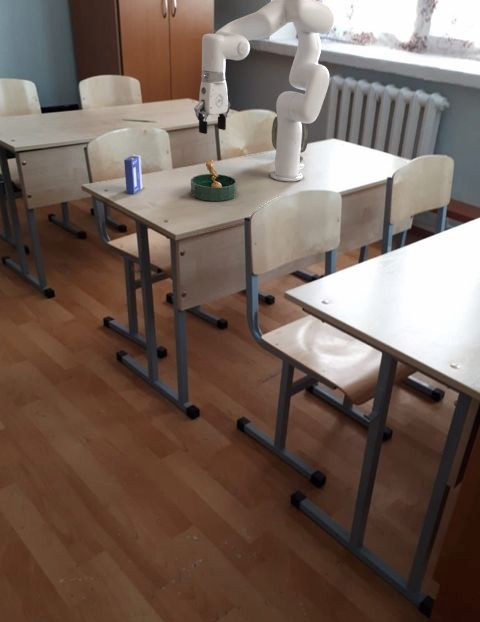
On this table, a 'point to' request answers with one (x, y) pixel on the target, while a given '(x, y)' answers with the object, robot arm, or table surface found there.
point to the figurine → (213, 173)
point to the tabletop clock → (303, 141)
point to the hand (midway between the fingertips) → (212, 131)
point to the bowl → (206, 192)
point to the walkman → (133, 174)
